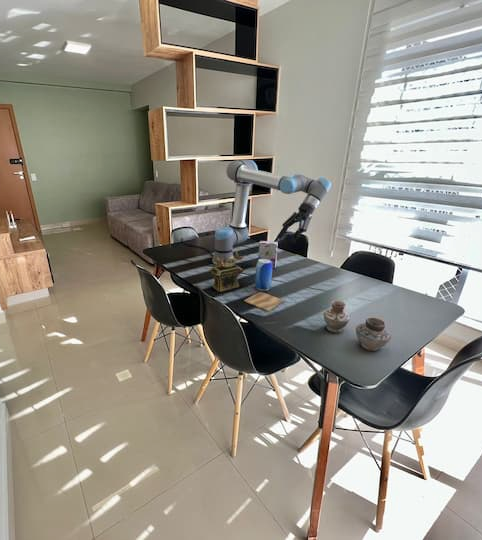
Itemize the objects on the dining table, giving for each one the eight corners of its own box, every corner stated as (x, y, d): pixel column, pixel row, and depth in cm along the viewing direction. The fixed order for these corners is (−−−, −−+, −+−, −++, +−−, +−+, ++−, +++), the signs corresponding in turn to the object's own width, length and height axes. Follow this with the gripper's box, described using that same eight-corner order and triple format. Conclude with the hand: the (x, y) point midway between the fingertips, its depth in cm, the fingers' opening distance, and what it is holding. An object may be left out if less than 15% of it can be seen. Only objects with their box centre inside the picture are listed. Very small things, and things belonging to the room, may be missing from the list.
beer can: (261, 293, 151) (263, 264, 145) (251, 287, 158) (253, 259, 152) (273, 289, 154) (276, 261, 149) (263, 283, 161) (265, 257, 155)
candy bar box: (276, 266, 186) (278, 241, 180) (274, 268, 182) (277, 244, 176) (258, 264, 190) (260, 240, 184) (257, 266, 186) (258, 242, 180)
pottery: (330, 319, 126) (334, 295, 122) (392, 347, 107) (400, 320, 103) (315, 328, 120) (319, 303, 115) (378, 360, 101) (385, 331, 97)
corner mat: (243, 301, 143) (243, 300, 142) (260, 292, 152) (260, 291, 151) (267, 311, 133) (267, 310, 133) (283, 301, 142) (284, 300, 142)
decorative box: (217, 293, 151) (217, 258, 144) (208, 286, 159) (208, 253, 152) (248, 285, 159) (250, 252, 152) (238, 279, 167) (239, 247, 160)
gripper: (328, 211, 140) (303, 247, 142) (300, 209, 163) (278, 240, 165) (318, 202, 137) (292, 239, 139) (290, 201, 161) (269, 233, 163)
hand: (284, 240), depth 152 cm, fingers open, 13 cm apart
